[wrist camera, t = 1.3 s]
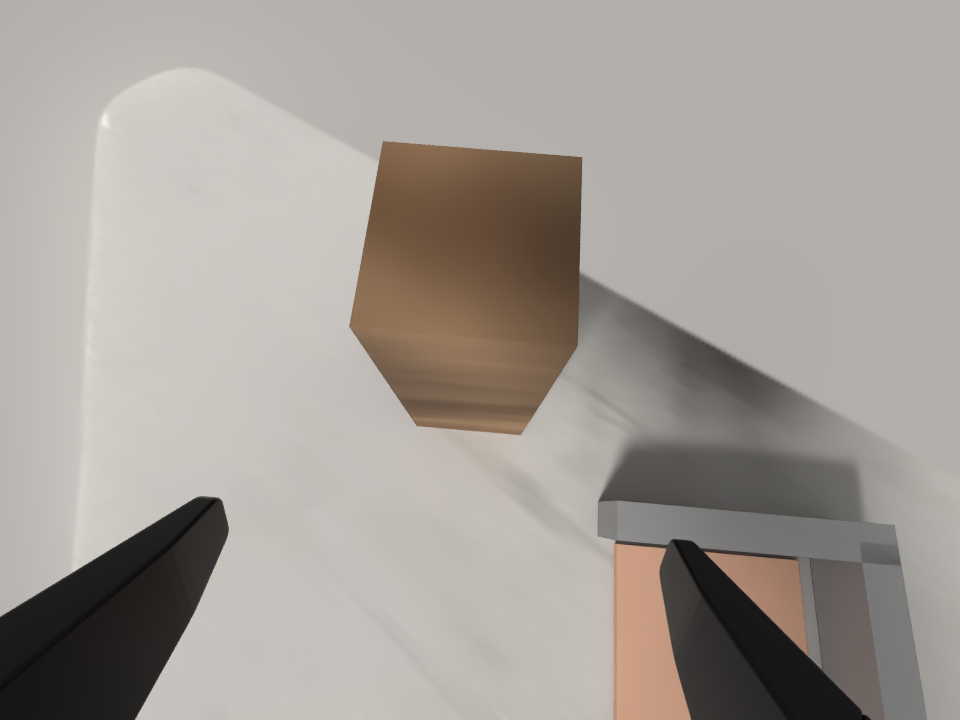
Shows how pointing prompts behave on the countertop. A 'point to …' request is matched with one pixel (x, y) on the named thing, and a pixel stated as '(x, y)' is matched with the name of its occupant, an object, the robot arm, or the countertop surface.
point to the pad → (645, 635)
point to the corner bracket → (837, 589)
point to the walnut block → (470, 281)
